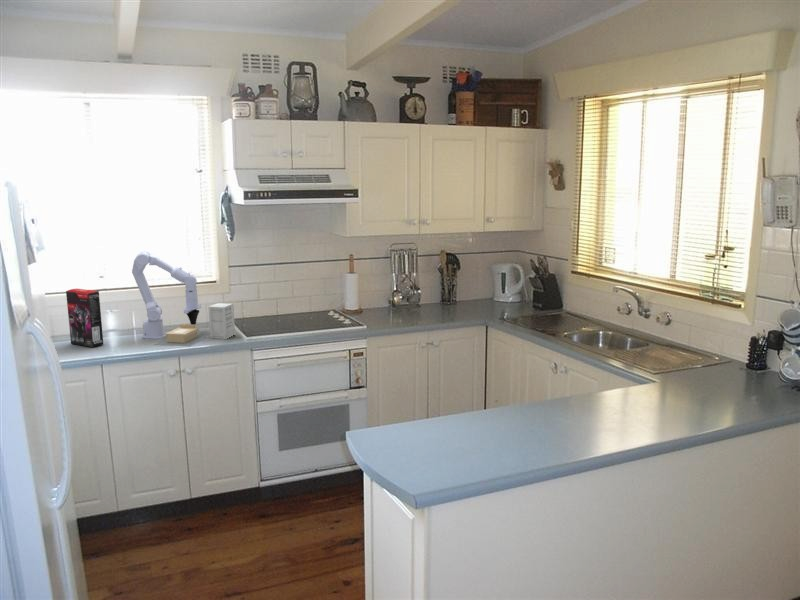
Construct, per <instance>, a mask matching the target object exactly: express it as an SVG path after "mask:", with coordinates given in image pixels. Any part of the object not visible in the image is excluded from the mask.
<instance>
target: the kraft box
mask: <svg viewBox="0 0 800 600" xmlns="http://www.w3.org/2000/svg"><path fill="white" fill-rule="evenodd" d="M198 335H199V334H198V331H197V332H195V333H193V334H191V335H189V336H186V337H184V335H167V336H166V339H167V343H186V342H188V341H190V340H192V339H194V338H196V337H198Z"/></svg>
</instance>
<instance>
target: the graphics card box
mask: <svg viewBox="0 0 800 600" xmlns="http://www.w3.org/2000/svg"><path fill="white" fill-rule="evenodd" d="M65 293H66V294H65V295H66V304H67V305H66V306H67V314H68V315H67V316H68V326H69V337H70V344H71V345H77V346H85V347H91V348H94V347H100V346H103V345H104V335H103V325H102V313H101V312H102V311H101V302H100V301H101V300H100V291H99V290H91V289H86V288H85V289H83V288H72V289H71V288H70V289H68V290H66V291H65Z"/></svg>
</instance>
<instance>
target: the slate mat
mask: <svg viewBox="0 0 800 600" xmlns="http://www.w3.org/2000/svg"><path fill="white" fill-rule="evenodd" d="M209 337H210V335H209V334H208V335H206V334H205V335H204V334H198V337H196V338H194V339H192V340H190V341H188V342H186V343H167V338H165V339H163V340H160V341H158V342H157V343H154V344H153V345H154V346H170V347H172V346H173V347H174V346H175V347H191V346H193V345H195V344H197V343H199V342H200V341H203V340H205V339H207V338H209Z"/></svg>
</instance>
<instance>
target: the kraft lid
mask: <svg viewBox="0 0 800 600" xmlns="http://www.w3.org/2000/svg"><path fill="white" fill-rule="evenodd" d="M195 332H197V333H198V332H199V327H196V324H195V325H191V324H188V323H187V324H184V323H183V324H182V323H180V324H179V327H177V328H174V329H173V330H170V331H168V332H166V333H165V334H166V336H165V337H167V335H184V337H186V336H189V335H191V334H193V333H195Z"/></svg>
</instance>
